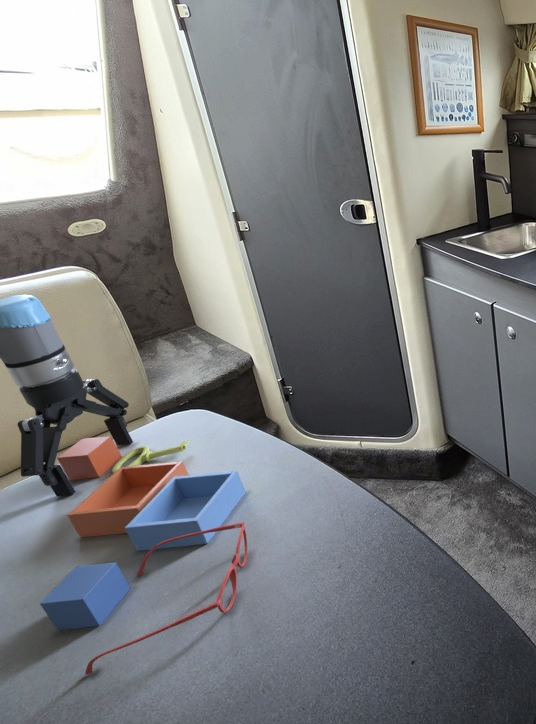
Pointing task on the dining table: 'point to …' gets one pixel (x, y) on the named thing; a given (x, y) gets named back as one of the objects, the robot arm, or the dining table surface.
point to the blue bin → (186, 510)
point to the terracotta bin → (122, 498)
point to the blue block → (86, 596)
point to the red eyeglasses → (218, 603)
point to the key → (148, 455)
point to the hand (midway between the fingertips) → (97, 467)
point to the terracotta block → (90, 458)
